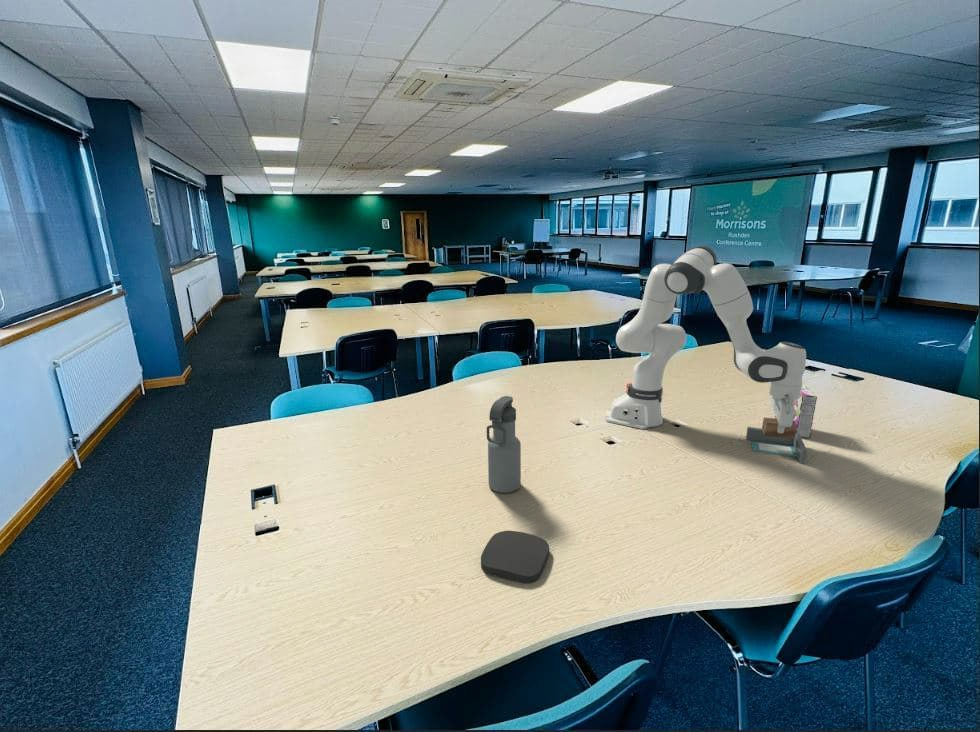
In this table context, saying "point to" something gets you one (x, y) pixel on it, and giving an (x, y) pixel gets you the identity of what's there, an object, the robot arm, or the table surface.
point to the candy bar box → (804, 412)
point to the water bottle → (503, 448)
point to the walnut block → (771, 429)
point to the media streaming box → (515, 556)
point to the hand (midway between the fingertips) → (778, 428)
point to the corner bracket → (777, 444)
